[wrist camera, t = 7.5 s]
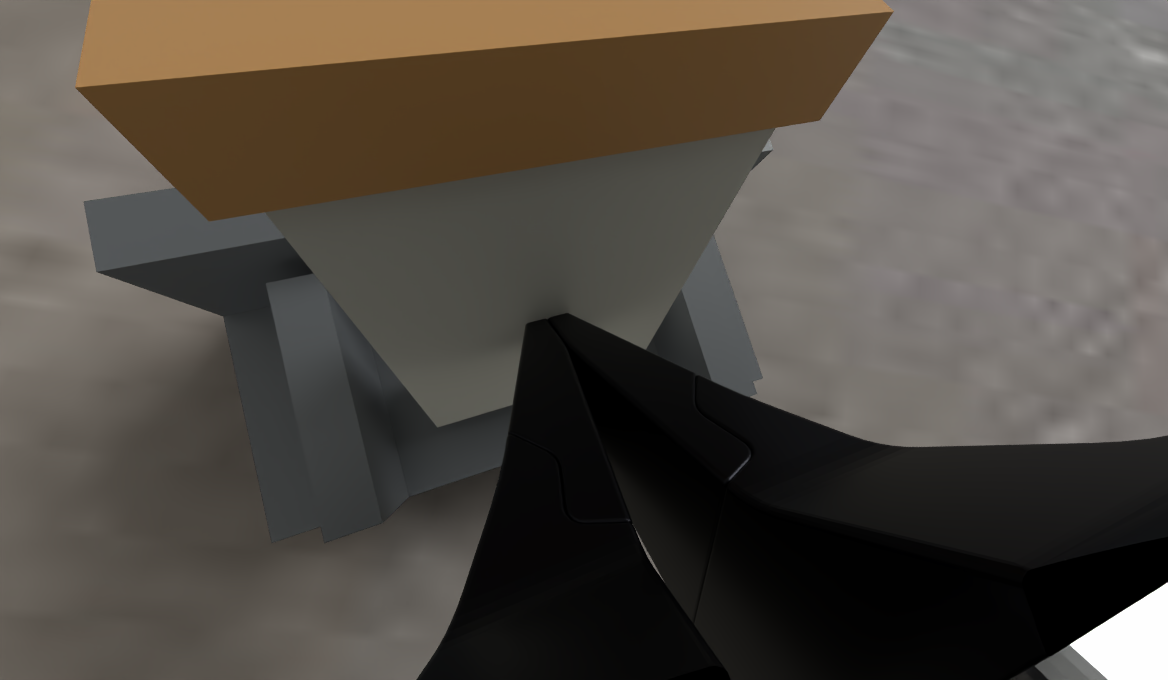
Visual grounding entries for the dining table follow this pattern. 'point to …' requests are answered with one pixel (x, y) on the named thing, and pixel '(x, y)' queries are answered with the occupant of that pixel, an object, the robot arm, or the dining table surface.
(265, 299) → the breaker box
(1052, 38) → the dining table surface
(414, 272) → the breaker lever
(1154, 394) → the dining table surface
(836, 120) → the dining table surface
